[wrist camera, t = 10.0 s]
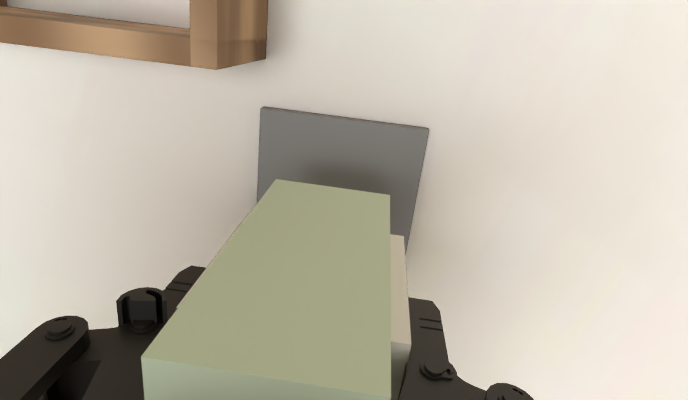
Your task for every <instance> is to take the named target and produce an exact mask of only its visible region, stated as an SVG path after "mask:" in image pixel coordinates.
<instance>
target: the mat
mask: <svg viewBox="0 0 688 400" xmlns="http://www.w3.org/2000/svg"><path fill="white" fill-rule="evenodd" d="M428 133H429V129H428V128H424V127H416V126H408V125H401V124H393V123H385V122H378V121H370V120H362V119H355V118H347V117H339V116H332V115H324V114H316V113H309V112H301V111H293V110H286V109H278V108H270V107H262V108H261V111H260V136H259V161H258V187H257V203H258V202H259V201H260V199H261V198H262V197H263V195H264V194H265V193H266V191H267V190H268V189H269V187H270V186H271V185H272V184H273V182H274V181H275V180H276V179H280V180H287V181H294V182H301V183H308V184H315V185H322V186H330V187H337V188H344V189H351V190H358V191H365V192H373V193H380V194H387V195H390V234H393V235H400V236H404V245H405V255H406V250H407V245H408V239H409V234H410V229H411V223H412V218H413V213H414V208H415V202H416V197H417V192H418V186H419V181H420V176H421V170H422V165H423V160H424V155H425V149H426V144H427V139H428Z"/></svg>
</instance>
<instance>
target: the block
mask: <svg viewBox="0 0 688 400" xmlns="http://www.w3.org/2000/svg"><path fill="white" fill-rule="evenodd" d="M141 363H142V375H143V387H144V399H145V400H391V287H390V195H387V194H380V193H373V192H365V191H358V190H351V189H344V188H337V187H330V186H322V185H315V184H308V183H301V182H294V181H287V180H280V179H276V180H275V181H274V182H273V184H272V185H271V186H270V187H269V189H268V190H267V191H266V193H265V194H264V195H263V197H262V198H261V199H260V201H259V202H258V203H257V205H256V206H255V207H254V209H253V210H252V211H251V213H250V214H249V215H248V216H247V218H246V219H245V220H244V222H243V223H242V224H241V226H240V227H239V228H238V230H237V231H236V232H235V234H234V235H233V236H232V238H231V239H230V240H229V241H228V243H227V244H226V245H225V247H224V248H223V249H222V251H221V252H220V253H219V255H218V256H217V257H216V259H215V260H214V261H213V263H212V264H211V265H210V266H209V268H208V269H207V270H206V272H205V273H204V274H203V276H202V277H201V278H200V280H199V281H198V282H197V284H196V285H195V286H194V288H193V289H192V290H191V292H190V293H189V294H188V295H187V297H186V298H185V299H184V301H183V302H182V303H181V305H180V306H179V307H178V309H177V310H176V311H175V313H174V314H173V315H172V317H171V318H170V319H169V320H168V322H167V323H166V324H165V326H164V327H163V328H162V330H161V331H160V332H159V334H158V335H157V336H156V338H155V339H154V340H153V342H152V343H151V344H150V345H149V347H148V348H147V349H146V351H145V352H144V353H143V355H142V356H141Z"/></svg>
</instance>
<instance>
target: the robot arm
mask: <svg viewBox="0 0 688 400" xmlns="http://www.w3.org/2000/svg"><path fill="white" fill-rule="evenodd" d="M248 215H249V214H248ZM248 215H247V216H248ZM247 216H246V217H245V218H244V220H245V219H246V218H247ZM244 220H243V221H242V222H241V224H242V223H243V222H244ZM241 224H240V225H239V226H238V228H239V227H240V226H241ZM238 228H237V229H236V230H235V231H234V233H233V234H232V235H231V237H230V238H229V239H228V241H229V240H230V239H231V238H232V236H233V235H234V234H235V232H236V231H237V230H238ZM228 241H227V242H226V243H225V245H226V244H227V243H228ZM225 245H224V246H223V247H222V248H221V250H220V251H219V252H218V254H217V255H216V256H215V258H214V259H213V260H212V261H211V263H210V264H209V265H208V267H207V268H204V267H197V266H190V267H188V268H186V269H184V270H182V271H181V272H179V273H178V274H177V275H176V277H175V278H174V279H173V280H172V282H171V283H169V285H168V286H167V287H166V289H165V290H163V291H161V290H159V289H157V288H149V287H146V288H138V289H134V290H131V291H128V292H126V293H125V294H123V295H121V296H120V297H119V298H118V300H117V301H116V303H117V313H118V322H119V326H118V327H116V328H109V329H94V330H89V328H88V322H87V321H86V320H85V319H84V318H81V317H78V316H63V317H58V318H54V319H52V320H49V321H46V322H45V323H43V324H41V325H40V326H38V327H37V328H36V329H35V330H33V331H32V332H31V333H30V334H29V335H28V336H27V337H25V338H24V339H23V340H22V341H21V342H20V343H18V344H17V345H16V346H15V347H14V348H13V349H11V350H10V351H9V352H8V353H7V354H6V355H4V356H3V357H2V358H1V359H0V400H145V399H144V387H143V375H142V363H141V356H142V355H143V353H144V352H145V351H146V349H147V348H148V347H149V345H150V344H151V343H152V342H153V340H154V339H155V338H156V336H157V335H158V334H159V332H160V331H161V330H162V328H163V327H164V326H165V324H166V323H167V322H168V320H169V319H170V318H171V317H172V315H173V314H174V313H175V311H176V310H177V309H178V307H179V306H180V305H181V303H182V302H183V301H184V299H185V298H186V297H187V295H188V294H189V293H190V292H191V290H192V289H193V288H194V286H195V285H196V284H197V282H198V281H199V280H200V278H201V277H202V276H203V274H204V273H205V272H206V270H207V269H208V268H209V266H210V265H211V264H212V263H213V261H214V260H215V259H216V257H217V256H218V255H219V253H220V252H221V251H222V249H223V248H224V247H225ZM390 287H391V400H534V399H533V398H532V397H531V396H530V395H528V394H527V393H526V392H525V391H523V390H522V389H520V388H518V387H516V386H513V385H510V384H507V383H496V384H494V385H491V386H490V387H489V389H488V390H487V391H485V390H482V389H480V388H477V387H475V386H473V385H471V384H469V383H467V382H465V381H463V380H462V379H461V378H459V377H458V376H457V372H456V370H455V369H454V367H453V365H452V364H450V363H449V361H448V355H447V349H446V344H445V338H444V333H443V327H442V323H441V316H440V311H439V309H438V308H437V307H436V306H435V304H434V303H433V302H432V301H428V300H422V299H415V298H408V288H407V274H406V259H405V245H404V236H400V235H393V234H390Z"/></svg>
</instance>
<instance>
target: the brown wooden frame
mask: <svg viewBox="0 0 688 400" xmlns="http://www.w3.org/2000/svg"><path fill="white" fill-rule="evenodd" d="M267 13H268V0H190V29H184V28H176V27H168V26H160V25H152V24H144V23H136V22H128V21H120V20H111V19H103V18H95V17H87V16H79V15H71V14H63V13H55V12H47V11H38V10H30V9H22V8H14V7H7V5H6V0H0V42H2V43H10V44H18V45H26V46H34V47H41V48H49V49H57V50H65V51H73V52H81V53H89V54H97V55H104V56H112V57H120V58H128V59H136V60H144V61H152V62H160V63H167V64H175V65H183V66H191V67H199V68H207V69H215V70H218V69H223V68H227V67H232V66H236V65H240V64H245V63H249V62H254V61H258V60H263V59H266V36H267Z"/></svg>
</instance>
